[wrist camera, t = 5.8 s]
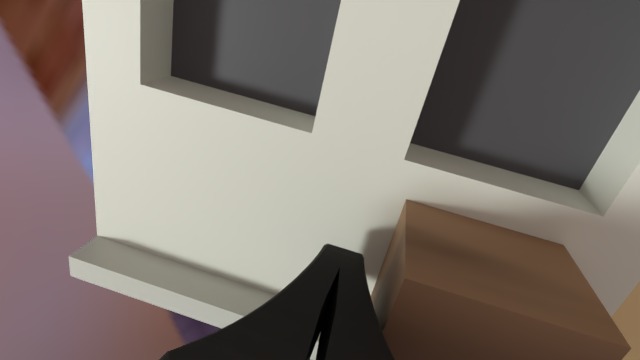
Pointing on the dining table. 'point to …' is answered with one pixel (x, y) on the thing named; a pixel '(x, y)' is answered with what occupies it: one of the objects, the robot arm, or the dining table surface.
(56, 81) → the dining table surface
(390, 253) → the walnut block
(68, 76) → the dining table surface
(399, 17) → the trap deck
